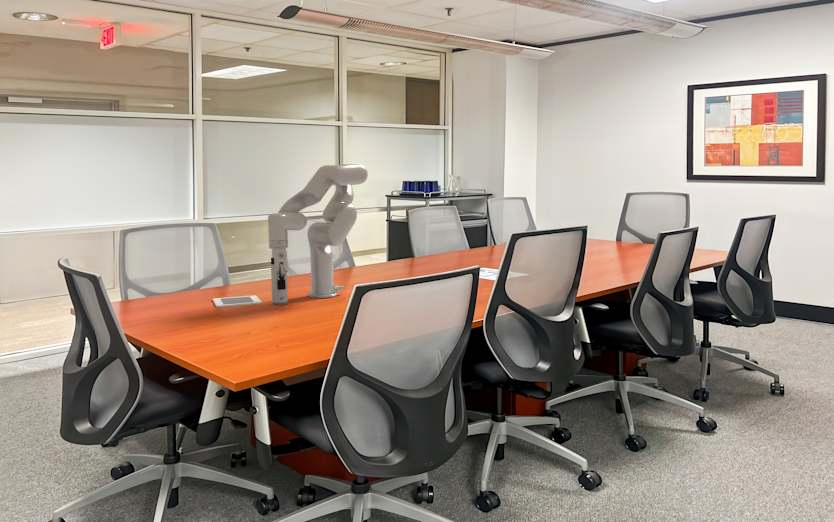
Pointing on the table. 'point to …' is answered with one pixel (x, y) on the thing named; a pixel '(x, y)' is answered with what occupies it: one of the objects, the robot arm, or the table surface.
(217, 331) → the table surface
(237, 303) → the card
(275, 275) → the travel mug
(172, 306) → the table surface
